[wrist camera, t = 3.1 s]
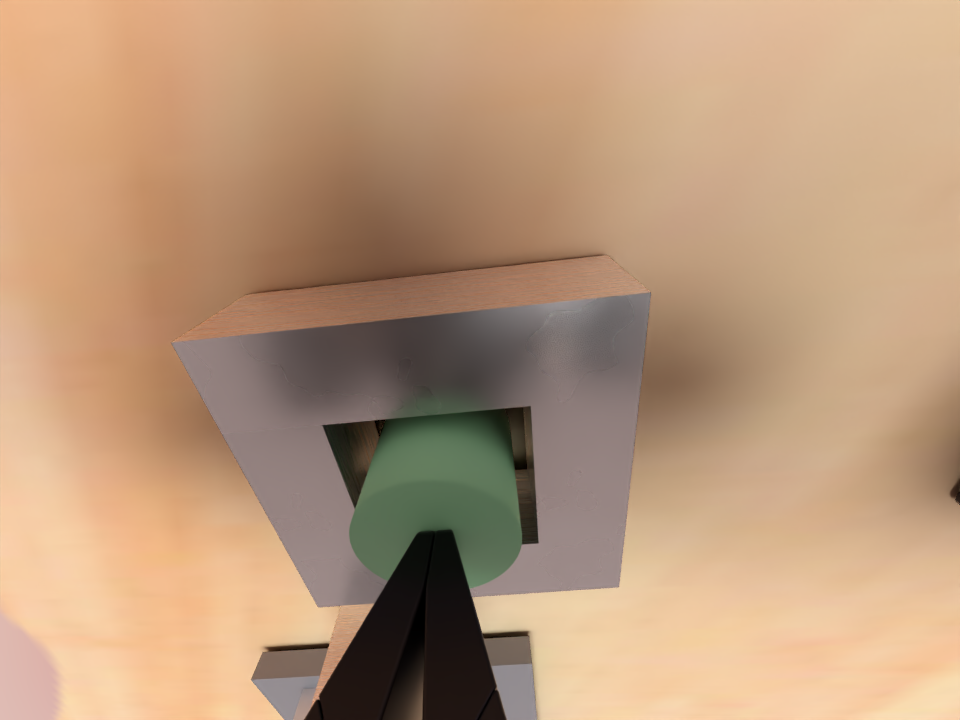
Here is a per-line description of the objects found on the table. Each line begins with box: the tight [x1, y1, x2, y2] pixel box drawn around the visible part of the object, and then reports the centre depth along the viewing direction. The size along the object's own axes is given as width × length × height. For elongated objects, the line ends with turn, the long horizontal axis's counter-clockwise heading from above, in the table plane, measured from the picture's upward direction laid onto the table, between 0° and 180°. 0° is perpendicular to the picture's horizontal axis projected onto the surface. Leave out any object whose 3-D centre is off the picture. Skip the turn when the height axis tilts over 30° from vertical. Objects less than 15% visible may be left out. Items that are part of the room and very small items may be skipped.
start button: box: [349, 409, 522, 588], centre depth 11 cm, size 4×4×4 cm
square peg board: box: [171, 255, 651, 607], centre depth 12 cm, size 10×10×3 cm
